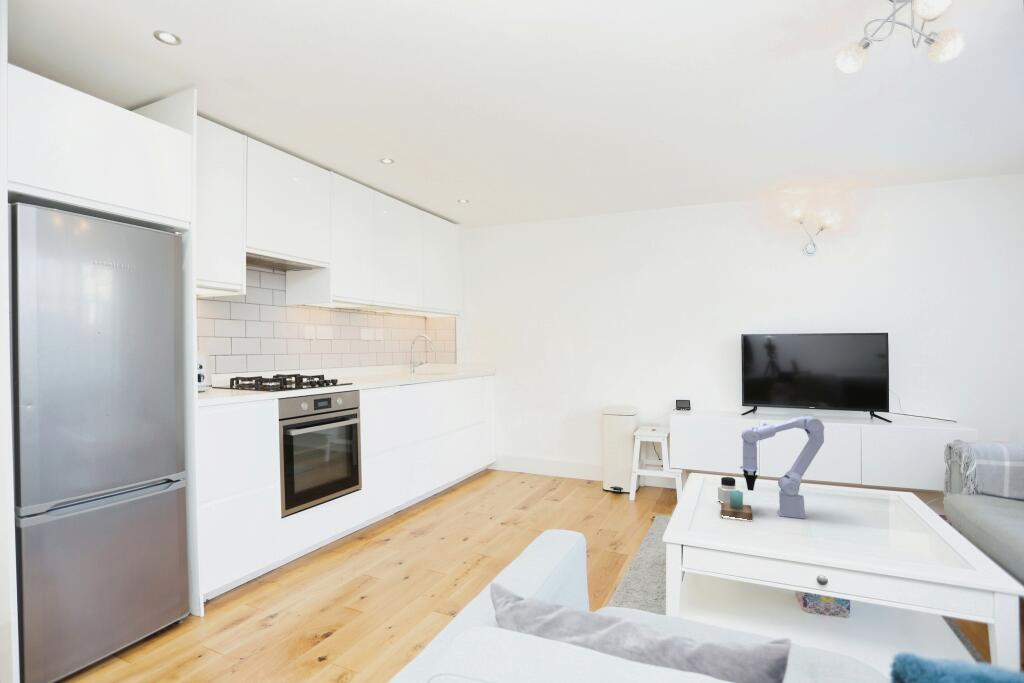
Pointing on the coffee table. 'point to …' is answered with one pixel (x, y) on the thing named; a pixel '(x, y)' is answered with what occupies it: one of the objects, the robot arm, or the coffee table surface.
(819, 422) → the robot arm
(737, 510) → the walnut block
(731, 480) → the medicine bottle
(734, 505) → the teal tin
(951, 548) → the coffee table surface
